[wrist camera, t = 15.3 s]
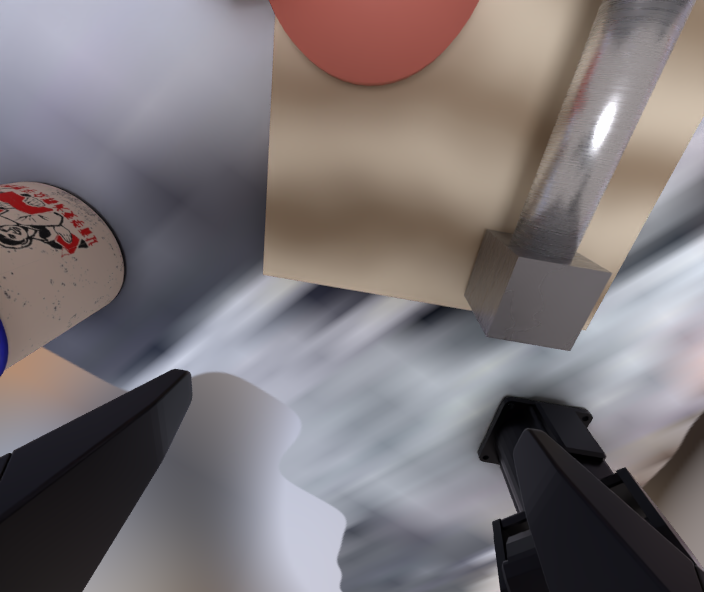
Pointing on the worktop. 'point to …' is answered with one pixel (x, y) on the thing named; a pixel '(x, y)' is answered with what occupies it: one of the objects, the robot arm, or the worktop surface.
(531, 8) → the base board
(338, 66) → the handwheel
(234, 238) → the worktop surface
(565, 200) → the grey rod with block
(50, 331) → the teacup with lid
